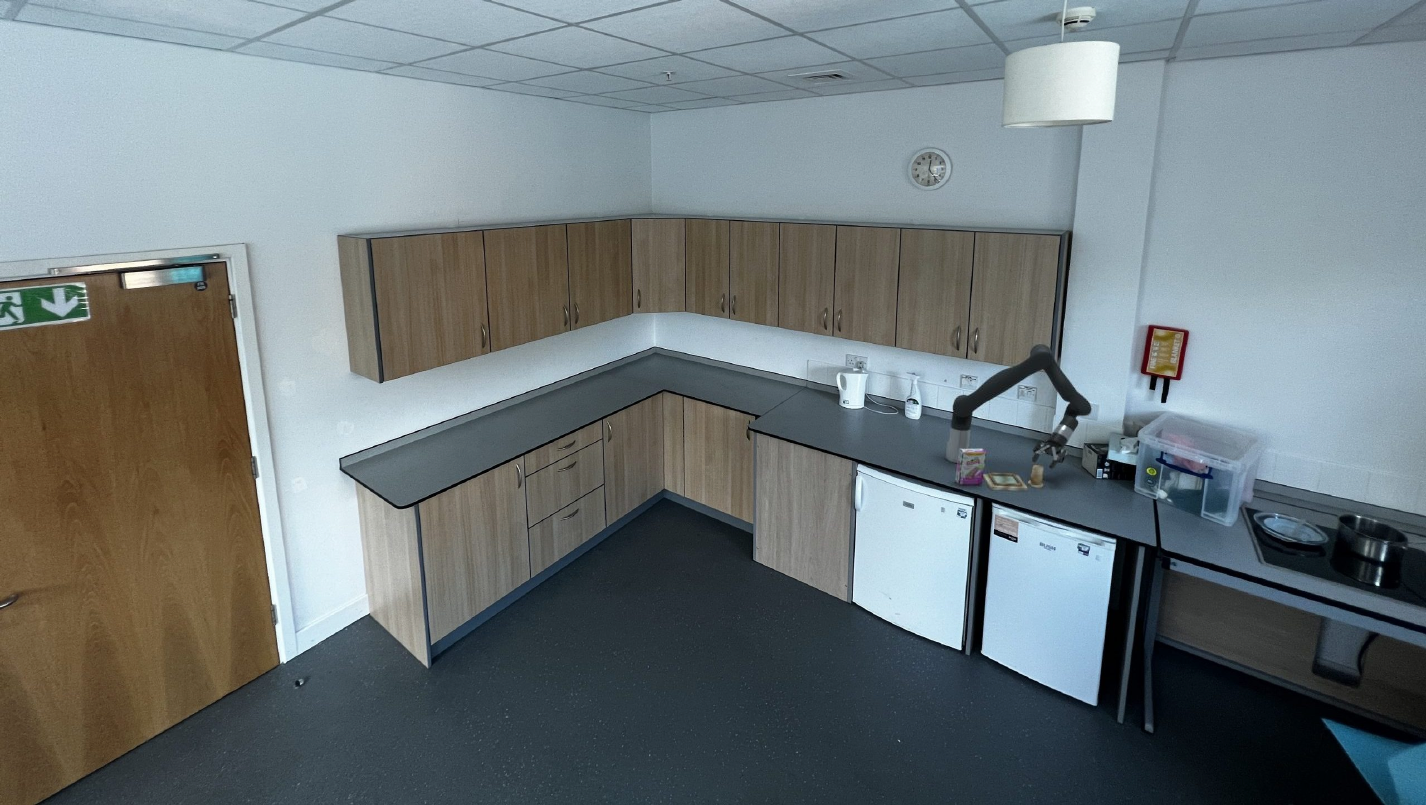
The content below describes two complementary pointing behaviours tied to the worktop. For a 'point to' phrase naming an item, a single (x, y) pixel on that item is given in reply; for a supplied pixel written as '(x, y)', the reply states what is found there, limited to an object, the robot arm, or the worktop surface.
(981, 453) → the candy bar box
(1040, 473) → the beech bobbin
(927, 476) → the worktop surface
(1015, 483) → the picture frame
